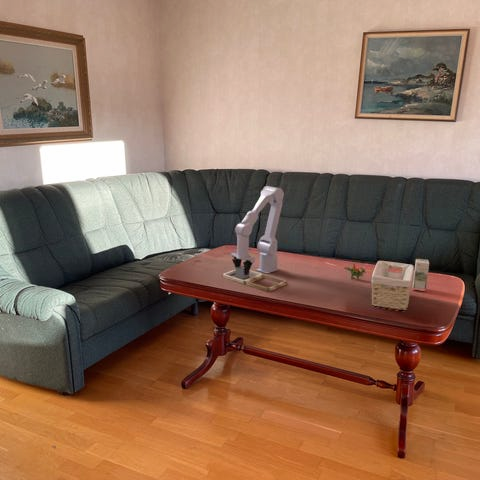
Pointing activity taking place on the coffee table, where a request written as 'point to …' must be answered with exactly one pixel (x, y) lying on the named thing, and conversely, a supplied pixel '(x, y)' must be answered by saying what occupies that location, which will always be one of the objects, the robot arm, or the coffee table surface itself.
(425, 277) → the syrup box
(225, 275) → the cream square frame
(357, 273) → the figurine
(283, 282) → the brown wooden frame
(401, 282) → the storage basket
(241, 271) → the letter cube
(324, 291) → the coffee table surface
